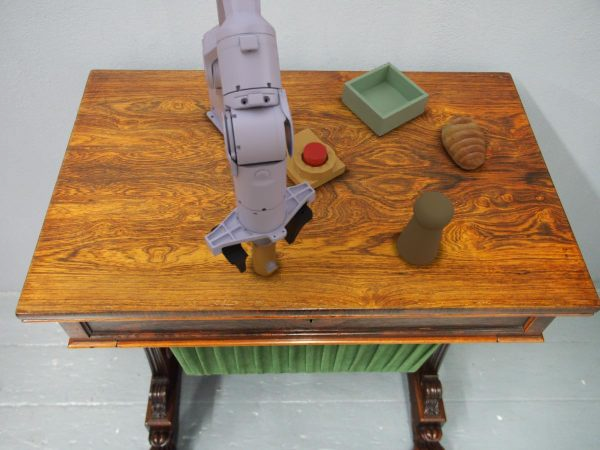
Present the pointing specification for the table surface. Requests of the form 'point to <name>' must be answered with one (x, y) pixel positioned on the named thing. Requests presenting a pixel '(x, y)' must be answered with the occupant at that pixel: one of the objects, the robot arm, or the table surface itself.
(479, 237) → the table surface
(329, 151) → the panel
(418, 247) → the olive brown pawn
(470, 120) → the pastry
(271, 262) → the tall narrow cylinder
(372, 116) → the green square tray
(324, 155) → the button
